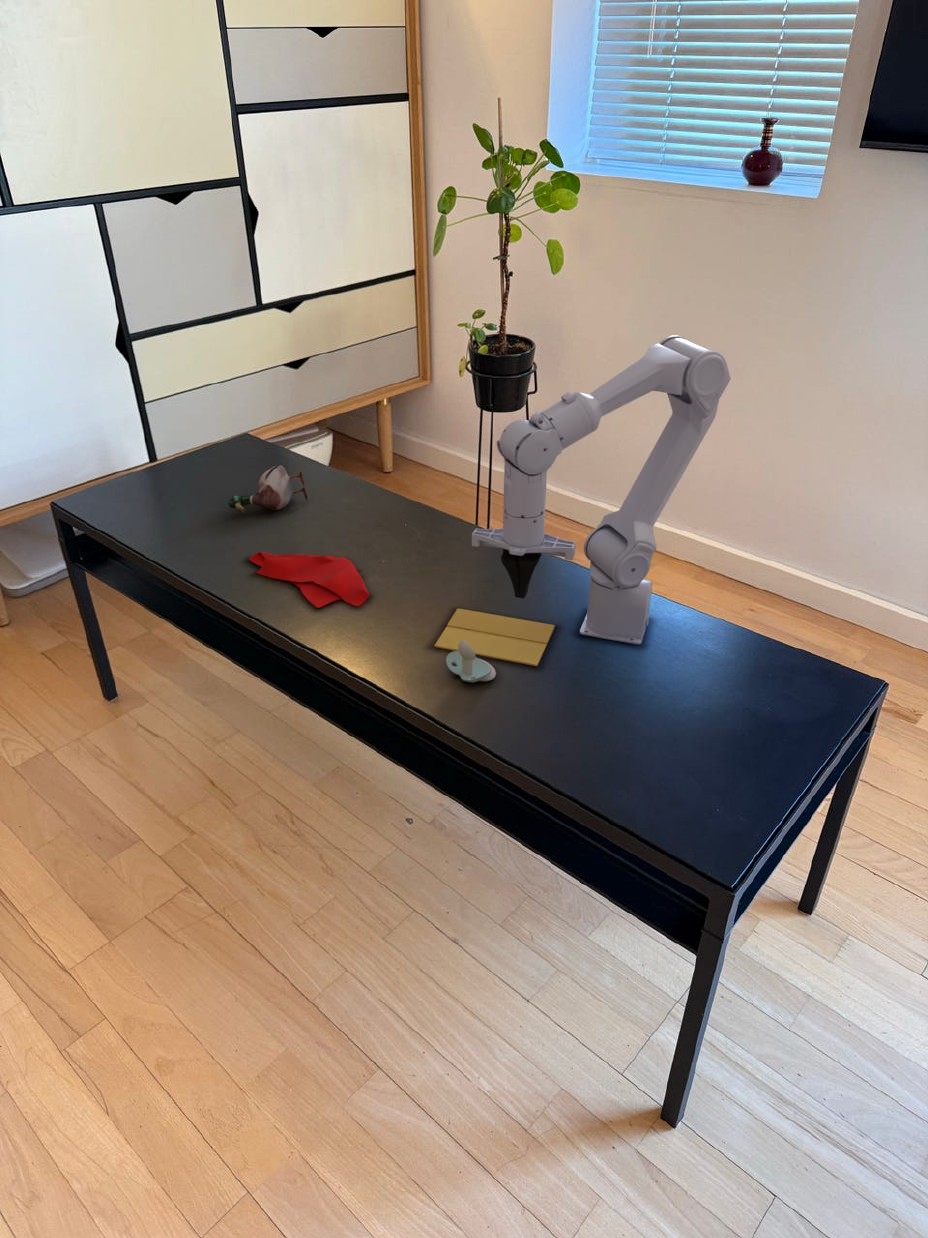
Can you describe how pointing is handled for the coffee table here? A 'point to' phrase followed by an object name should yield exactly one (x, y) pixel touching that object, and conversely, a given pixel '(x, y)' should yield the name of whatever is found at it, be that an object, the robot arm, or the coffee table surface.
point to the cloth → (316, 576)
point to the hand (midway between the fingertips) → (521, 594)
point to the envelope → (497, 636)
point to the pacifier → (469, 664)
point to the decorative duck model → (270, 491)
